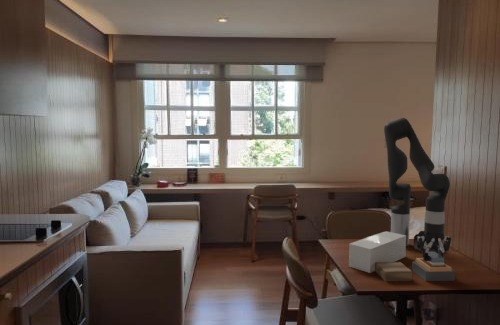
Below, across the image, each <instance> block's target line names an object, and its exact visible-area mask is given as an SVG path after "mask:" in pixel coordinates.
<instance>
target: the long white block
mask: <svg viewBox="0 0 500 325" xmlns="http://www.w3.org/2000/svg"><path fill="white" fill-rule="evenodd" d="M405 243H406V235H401V234H397V233H392V232H391V231H382V232H380V233H376V234H373V235H371V236H367V237H364V238H362V239H359V240H356V241H353V242H350V243H349V244H348V245H349V246H348V247H349V248H348V249H349V250H348V252H349V253H348V267H350V268H353V269H356V270H359V271H363V272H366V273H369V274H370V273H373V272H375V262H398V261H399V260H401V259H404V258H406V255H407V254H406V253H407V252H406V249H407V248H406V247H407V246H406V244H405Z"/></svg>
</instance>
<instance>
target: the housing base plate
mask: <svg viewBox="0 0 500 325" xmlns="http://www.w3.org/2000/svg"><path fill="white" fill-rule="evenodd" d="M421 258H422V261H423V262H424V263H426V264H427V265H429V266H430V267H444V263H445V261H444V262H440V263H432V262H430V261H429V260H428V261H425V260H424V259H423V257H421Z"/></svg>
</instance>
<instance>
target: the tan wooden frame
mask: <svg viewBox="0 0 500 325" xmlns="http://www.w3.org/2000/svg"><path fill="white" fill-rule="evenodd" d="M422 258H423V257H415V260H414V261H412V262H411V263H412V264H411V267H412V268H411V271H412V273H414V274H416V275H417V276H419V277H420V278H421V279H423V281H425V282H452V281H453V282H455V280H456V277H455V276H456V271H455V270H454V269H453V268H452V266H450V265H448V264H446V263H445V262H444V267H430V266H429V265H427V264H426V263H424V262H423V261H422Z"/></svg>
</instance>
